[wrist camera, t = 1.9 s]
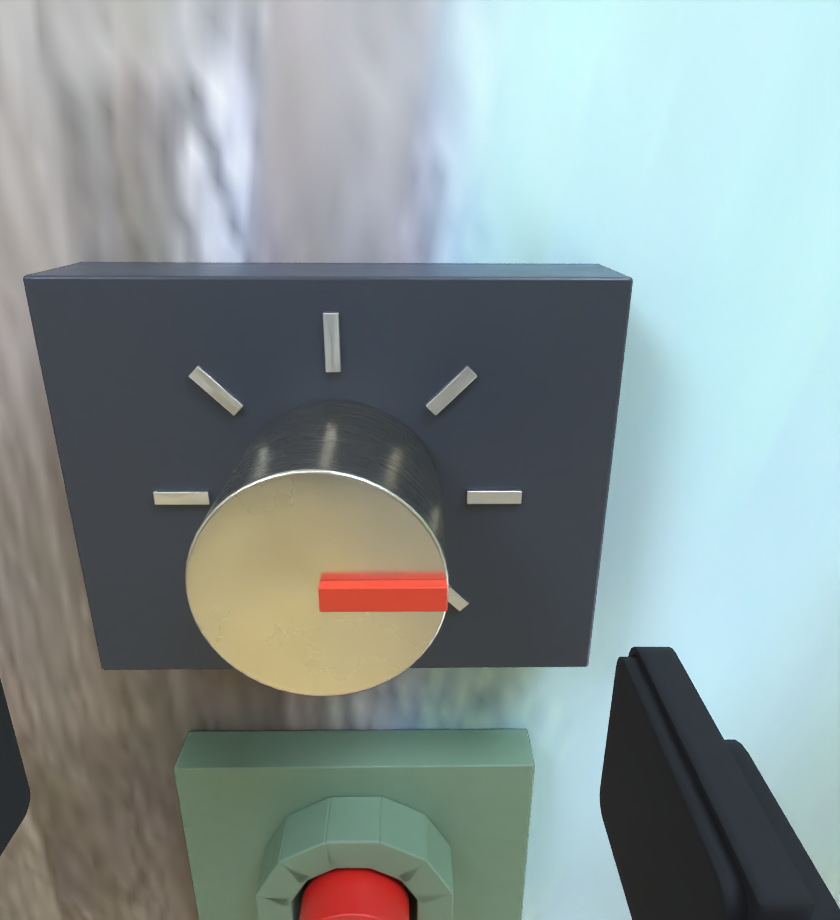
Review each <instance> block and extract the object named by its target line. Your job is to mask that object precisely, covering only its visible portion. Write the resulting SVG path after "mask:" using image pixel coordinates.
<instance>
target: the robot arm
mask: <svg viewBox="0 0 840 920" xmlns="http://www.w3.org/2000/svg"><path fill="white" fill-rule="evenodd" d="M29 802H30V789H29V785H28V781H27V777H26V774H25V770H24V766H23V762H22V759H21V755H20V751H19V747H18V743H17V740H16V736H15V732H14V728H13V725H12V721H11V717H10V713H9V710H8V706H7V702H6V698H5V695H4V691H3V687H2V683H1V680H0V856H1V854H2V852H3V851H4V849H5V848H6V846H7V844H8V843H9V841H10V840H11V838H12V836H13V835H14V833H15V832H16V830H17V828H18V827H19V825H20V824H21V822H22V820H23V819H24V817H25V815H26V813H27V810H28V807H29ZM600 807H601V814H602V818H603V822H604V825H605V828H606V832H607V835H608V839H609V842H610V845H611V849H612V852H613V856H614V859H615V862H616V866H617V869H618V873H619V876H620V879H621V883H622V886H623V890H624V893H625V896H626V900H627V903H628V907H629V910H630V913H631V917H632V920H840V909H839V907H838V905H837V904H836V902H835V900H834V898H833V897H832V895H831V893H830V892H829V890H828V888H827V886H826V885H825V883H824V881H823V880H822V878H821V876H820V875H819V873H818V871H817V869H816V868H815V866H814V864H813V863H812V861H811V859H810V857H809V856H808V854H807V852H806V851H805V849H804V847H803V846H802V844H801V842H800V840H799V839H798V837H797V835H796V834H795V832H794V830H793V828H792V827H791V825H790V823H789V822H788V820H787V818H786V817H785V815H784V813H783V811H782V810H781V808H780V806H779V805H778V803H777V801H776V799H775V798H774V796H773V794H772V793H771V791H770V789H769V788H768V786H767V784H766V782H765V781H764V779H763V777H762V776H761V774H760V772H759V770H758V769H757V767H756V765H755V764H754V762H753V760H752V758H751V757H750V755H749V753H748V752H747V751H746V749H745V748H744V747H743V745H742V744H741V743H739V742H738V741H736V740H724V739H723V737H722V735H721V733H720V732H719V730H718V728H717V726H716V724H715V723H714V721H713V719H712V717H711V715H710V714H709V712H708V710H707V708H706V706H705V705H704V703H703V701H702V699H701V698H700V696H699V694H698V692H697V690H696V689H695V687H694V685H693V683H692V681H691V680H690V678H689V676H688V674H687V672H686V671H685V669H684V667H683V665H682V663H681V662H680V660H679V658H678V656H677V654H676V653H675V651H674V650H673V649H672V648H670V647H633V648H631V650H630V652H629V656H628V657H619V658H618V660H617V665H616V672H615V680H614V687H613V695H612V702H611V710H610V718H609V725H608V733H607V740H606V748H605V756H604V763H603V771H602V779H601V786H600Z"/></svg>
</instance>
